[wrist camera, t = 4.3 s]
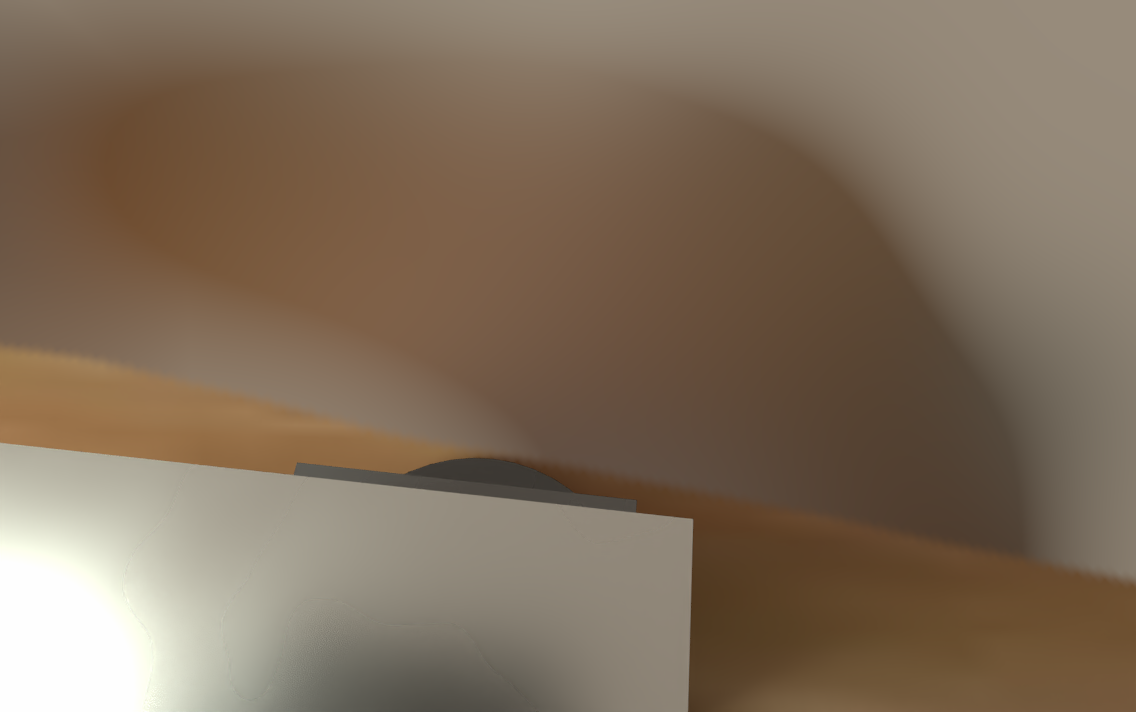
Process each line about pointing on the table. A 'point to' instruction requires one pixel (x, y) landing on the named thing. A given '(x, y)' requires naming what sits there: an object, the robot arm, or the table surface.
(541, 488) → the base
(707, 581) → the table surface
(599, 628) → the column
